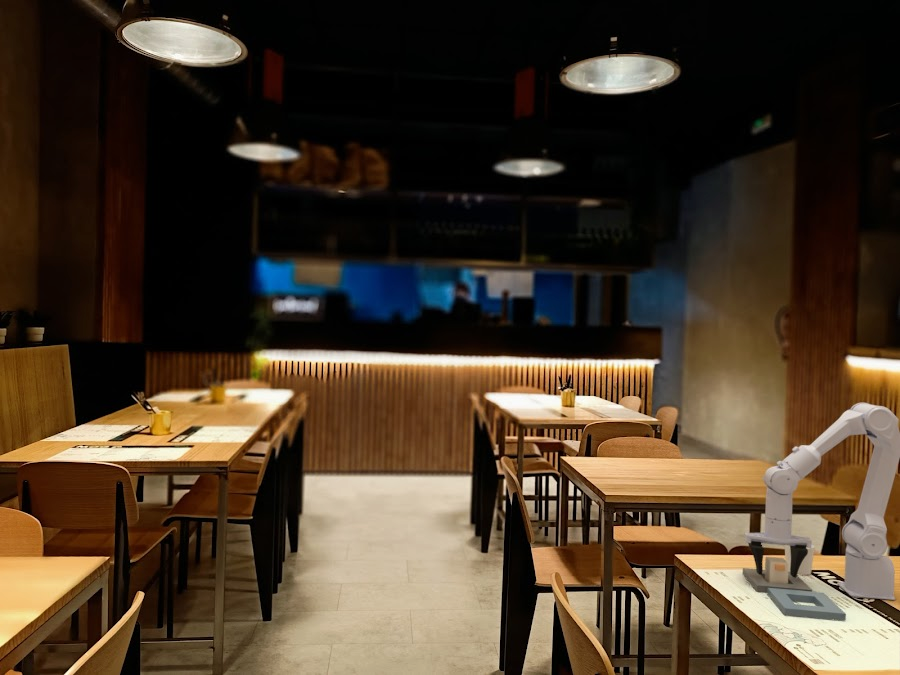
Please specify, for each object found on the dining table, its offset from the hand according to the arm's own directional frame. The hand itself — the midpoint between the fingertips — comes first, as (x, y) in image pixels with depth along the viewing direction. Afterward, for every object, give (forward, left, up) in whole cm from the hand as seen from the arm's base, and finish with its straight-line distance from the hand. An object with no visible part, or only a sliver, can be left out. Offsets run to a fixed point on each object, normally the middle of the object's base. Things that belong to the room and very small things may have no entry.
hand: (776, 574), depth 162 cm
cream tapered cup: (-9, -12, -3) cm, 15 cm away
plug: (0, 0, -2) cm, 2 cm away
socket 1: (0, 0, -2) cm, 2 cm away
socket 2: (-2, +13, -2) cm, 13 cm away
